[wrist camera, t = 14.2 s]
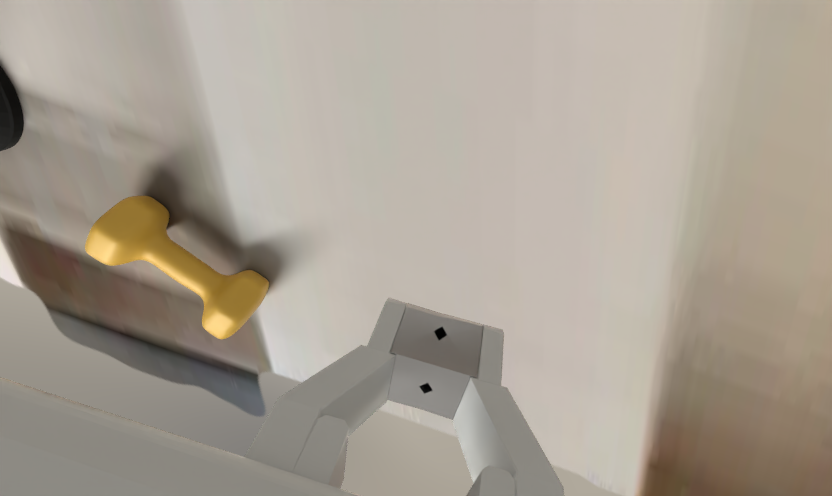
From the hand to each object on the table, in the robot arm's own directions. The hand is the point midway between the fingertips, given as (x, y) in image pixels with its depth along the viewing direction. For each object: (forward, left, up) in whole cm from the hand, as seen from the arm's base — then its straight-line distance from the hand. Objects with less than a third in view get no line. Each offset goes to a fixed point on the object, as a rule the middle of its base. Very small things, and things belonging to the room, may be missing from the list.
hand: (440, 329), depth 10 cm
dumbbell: (+29, +25, -30) cm, 48 cm away
